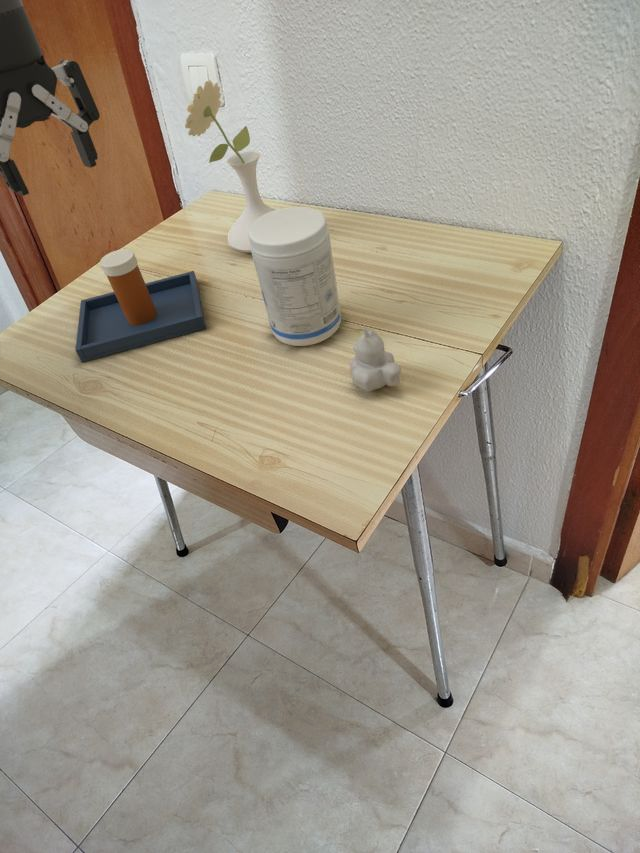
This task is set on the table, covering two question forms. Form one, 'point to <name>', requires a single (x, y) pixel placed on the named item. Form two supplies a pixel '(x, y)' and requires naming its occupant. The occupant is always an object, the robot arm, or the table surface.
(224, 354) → the table surface
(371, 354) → the grey figurine
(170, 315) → the tray
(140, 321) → the pill bottle
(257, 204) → the flower in vase
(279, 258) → the supplement tub
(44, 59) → the robot arm
